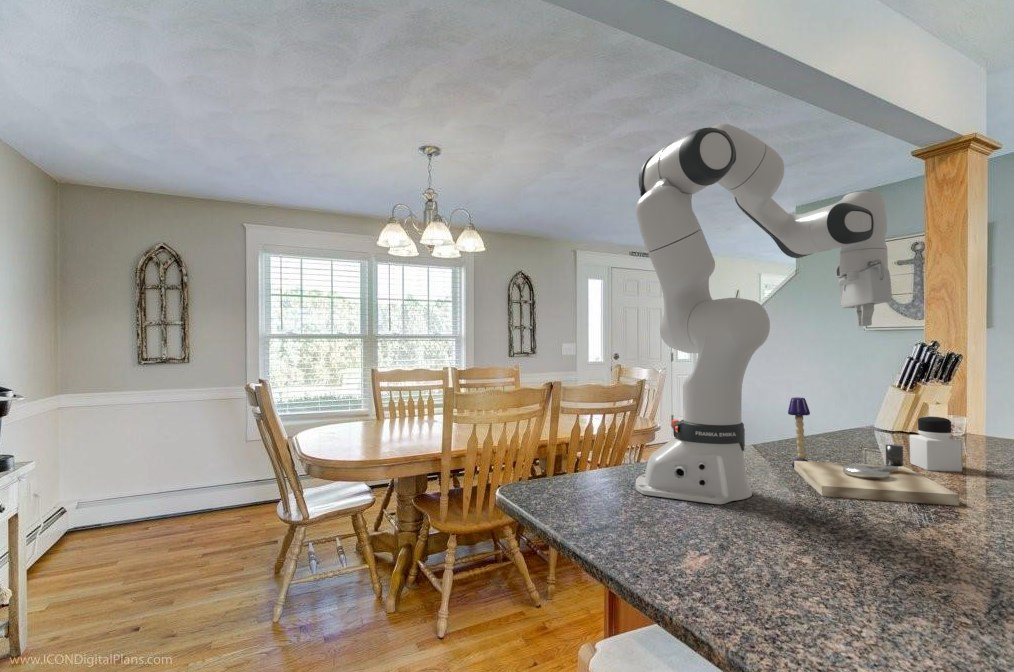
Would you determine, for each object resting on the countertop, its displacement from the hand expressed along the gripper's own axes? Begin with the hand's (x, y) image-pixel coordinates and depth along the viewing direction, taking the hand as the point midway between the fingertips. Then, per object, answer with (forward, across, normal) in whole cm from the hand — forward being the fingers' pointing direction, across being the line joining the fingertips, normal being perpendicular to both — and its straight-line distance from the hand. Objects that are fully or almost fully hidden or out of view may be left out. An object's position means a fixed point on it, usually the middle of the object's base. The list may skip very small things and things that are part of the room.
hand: (864, 325), depth 114 cm
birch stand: (+34, -9, +3) cm, 35 cm away
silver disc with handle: (+31, -7, +1) cm, 32 cm away
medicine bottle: (+34, +12, -18) cm, 40 cm away
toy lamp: (+34, +6, +12) cm, 37 cm away
